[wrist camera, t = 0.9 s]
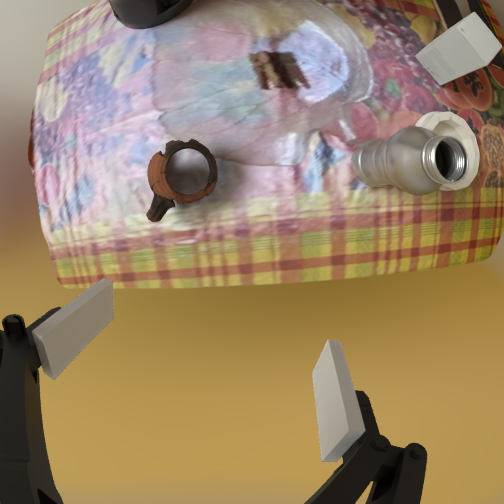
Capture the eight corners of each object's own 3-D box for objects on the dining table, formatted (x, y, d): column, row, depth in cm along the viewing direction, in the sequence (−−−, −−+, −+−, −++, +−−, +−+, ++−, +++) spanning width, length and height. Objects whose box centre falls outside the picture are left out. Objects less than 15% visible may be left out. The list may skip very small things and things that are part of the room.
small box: (439, 86, 28) (487, 66, 16) (413, 56, 28) (454, 25, 15) (459, 66, 26) (503, 46, 14) (435, 38, 25) (474, 10, 13)
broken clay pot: (163, 134, 36) (172, 122, 28) (217, 161, 40) (237, 157, 33) (127, 207, 36) (126, 214, 29) (183, 232, 41) (196, 243, 34)
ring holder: (415, 100, 30) (425, 95, 27) (472, 130, 29) (483, 129, 26) (404, 176, 34) (414, 176, 30) (462, 200, 33) (474, 203, 30)
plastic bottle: (397, 173, 34) (490, 181, 14) (360, 194, 35) (436, 218, 16) (377, 132, 32) (460, 105, 13) (338, 153, 34) (401, 134, 15)
